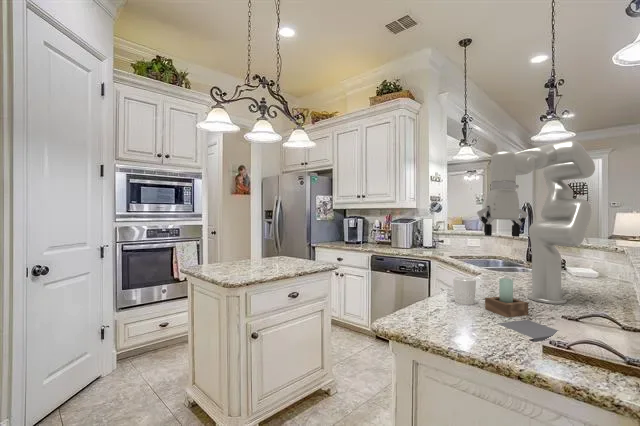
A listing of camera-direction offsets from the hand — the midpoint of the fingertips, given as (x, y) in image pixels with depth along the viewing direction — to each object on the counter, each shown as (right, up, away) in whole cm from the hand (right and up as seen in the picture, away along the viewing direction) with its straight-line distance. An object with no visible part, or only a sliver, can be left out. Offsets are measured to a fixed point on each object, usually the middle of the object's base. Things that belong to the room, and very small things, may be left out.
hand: (501, 236), depth 110 cm
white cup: (-9, -27, +9) cm, 30 cm away
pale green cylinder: (0, -26, -3) cm, 26 cm away
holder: (0, -27, -3) cm, 27 cm away
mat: (-2, -27, -18) cm, 32 cm away
